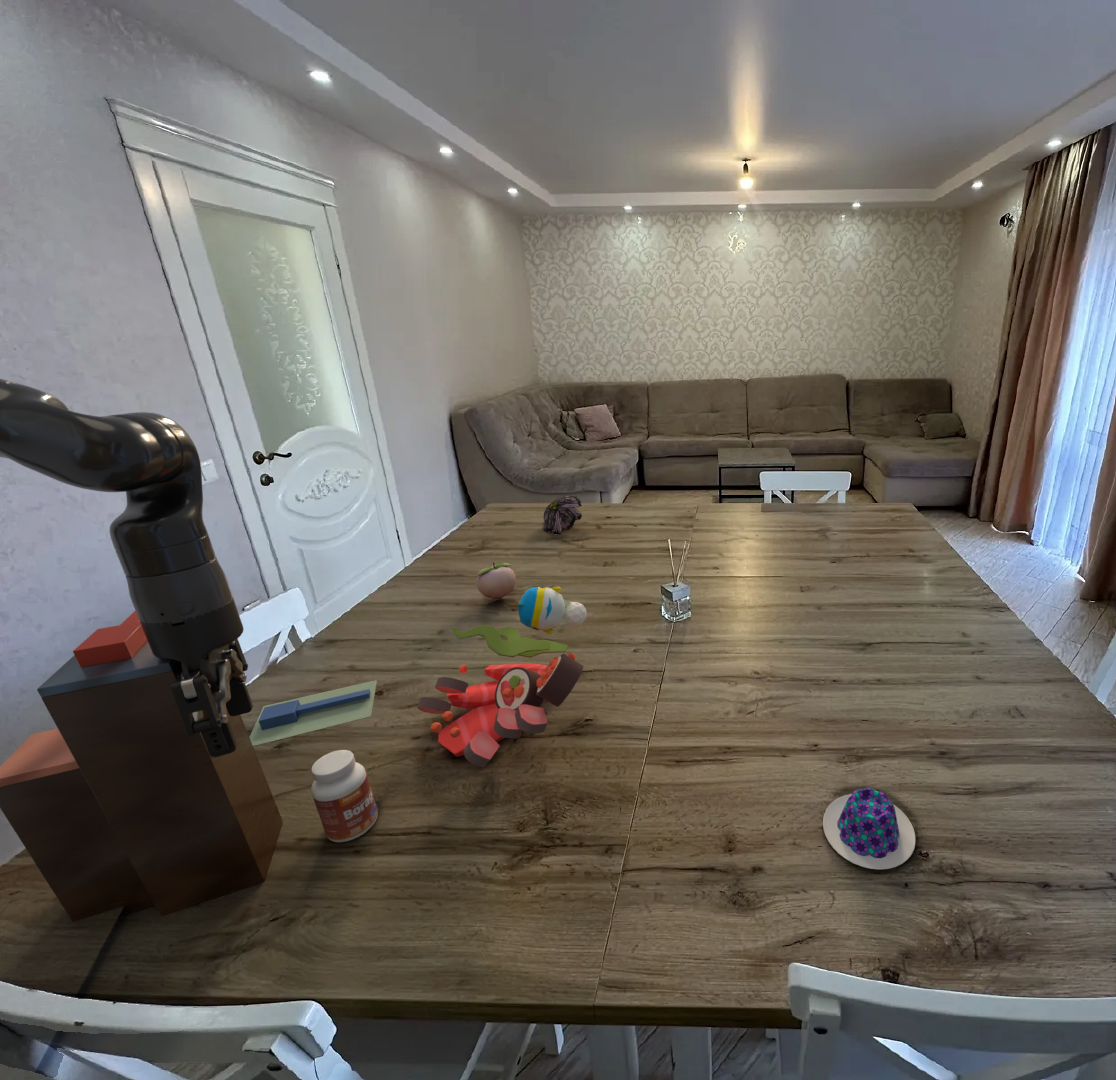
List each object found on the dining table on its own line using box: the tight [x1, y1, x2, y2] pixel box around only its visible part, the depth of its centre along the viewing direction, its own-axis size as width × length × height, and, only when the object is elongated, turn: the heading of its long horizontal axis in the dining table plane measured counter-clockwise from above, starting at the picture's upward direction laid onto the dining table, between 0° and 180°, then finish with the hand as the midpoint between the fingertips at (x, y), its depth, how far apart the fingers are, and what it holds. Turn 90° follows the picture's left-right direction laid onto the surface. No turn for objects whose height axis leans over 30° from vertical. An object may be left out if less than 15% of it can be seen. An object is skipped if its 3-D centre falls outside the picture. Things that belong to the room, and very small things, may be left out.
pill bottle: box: [310, 749, 379, 843], centre depth 76 cm, size 6×6×11 cm
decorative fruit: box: [475, 562, 517, 600], centre depth 139 cm, size 9×8×10 cm
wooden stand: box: [0, 641, 284, 923], centre depth 65 cm, size 18×10×32 cm, turn 115°
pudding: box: [822, 787, 916, 870], centre depth 74 cm, size 12×12×5 cm
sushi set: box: [416, 586, 588, 768], centre depth 97 cm, size 29×30×24 cm
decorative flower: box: [542, 495, 583, 535], centre depth 187 cm, size 14×12×15 cm
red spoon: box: [72, 610, 148, 668], centre depth 65 cm, size 4×16×2 cm, turn 25°
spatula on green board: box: [249, 679, 378, 747], centre depth 100 cm, size 18×12×1 cm, turn 115°
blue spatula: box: [259, 689, 371, 730], centre depth 100 cm, size 4×16×2 cm, turn 115°
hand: (233, 732), depth 65 cm, fingers open, 8 cm apart
